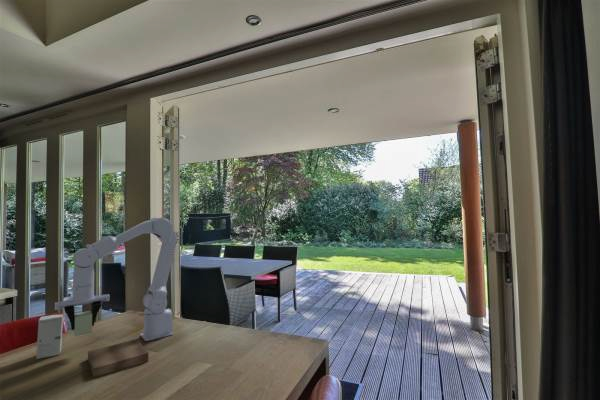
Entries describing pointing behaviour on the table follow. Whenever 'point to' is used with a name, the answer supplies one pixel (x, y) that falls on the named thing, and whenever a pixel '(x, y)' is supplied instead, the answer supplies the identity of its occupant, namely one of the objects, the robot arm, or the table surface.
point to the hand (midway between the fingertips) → (82, 327)
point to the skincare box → (49, 336)
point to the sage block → (83, 323)
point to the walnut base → (116, 357)
